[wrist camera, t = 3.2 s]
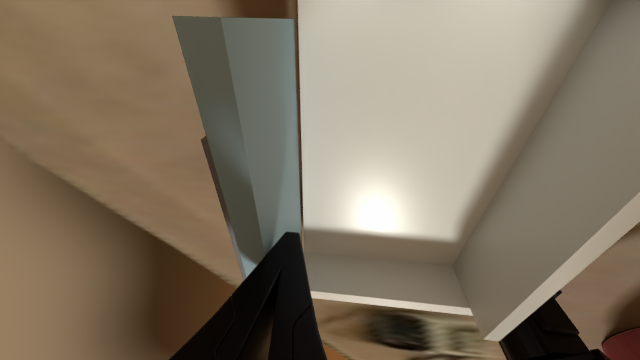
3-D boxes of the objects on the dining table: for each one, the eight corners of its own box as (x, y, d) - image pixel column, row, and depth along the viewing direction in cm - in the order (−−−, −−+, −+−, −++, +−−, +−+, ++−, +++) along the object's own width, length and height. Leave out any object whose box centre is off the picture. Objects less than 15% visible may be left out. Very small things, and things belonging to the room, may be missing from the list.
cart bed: (449, 250, 22) (492, 347, 16) (308, 237, 23) (292, 323, 16) (601, -25, 11) (1013, -99, 4) (305, -30, 11) (250, -96, 5)
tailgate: (301, 244, 20) (281, 344, 14) (283, 242, 20) (255, 340, 14) (293, 18, 11) (220, 17, 4) (260, 18, 11) (143, 14, 5)
